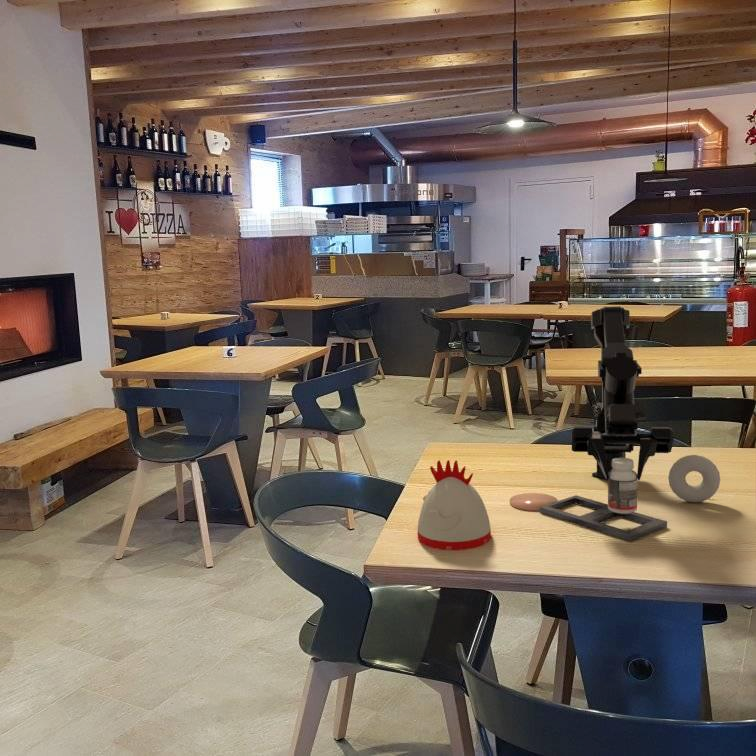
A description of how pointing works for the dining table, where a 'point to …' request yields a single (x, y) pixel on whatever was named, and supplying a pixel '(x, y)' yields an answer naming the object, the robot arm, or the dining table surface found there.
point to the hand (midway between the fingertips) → (623, 478)
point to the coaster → (531, 501)
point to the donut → (699, 465)
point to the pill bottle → (622, 486)
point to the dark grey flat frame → (604, 518)
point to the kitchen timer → (453, 512)
